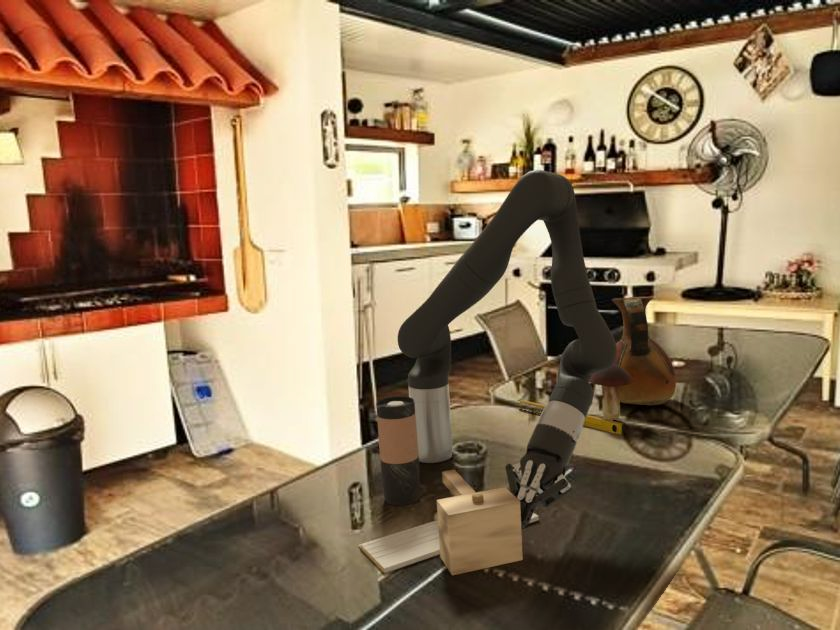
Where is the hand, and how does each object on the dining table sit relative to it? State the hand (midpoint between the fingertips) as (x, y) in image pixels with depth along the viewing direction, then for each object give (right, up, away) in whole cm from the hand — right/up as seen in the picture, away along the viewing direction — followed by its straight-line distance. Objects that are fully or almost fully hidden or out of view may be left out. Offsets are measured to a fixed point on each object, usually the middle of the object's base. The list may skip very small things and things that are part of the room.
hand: (517, 525), depth 111 cm
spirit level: (+22, +7, +64) cm, 68 cm away
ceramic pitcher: (+44, +10, +75) cm, 88 cm away
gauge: (-8, -4, +4) cm, 10 cm away
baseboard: (-11, -5, +9) cm, 15 cm away
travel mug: (-20, -2, +24) cm, 31 cm away
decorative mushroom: (+33, +7, +62) cm, 70 cm away
